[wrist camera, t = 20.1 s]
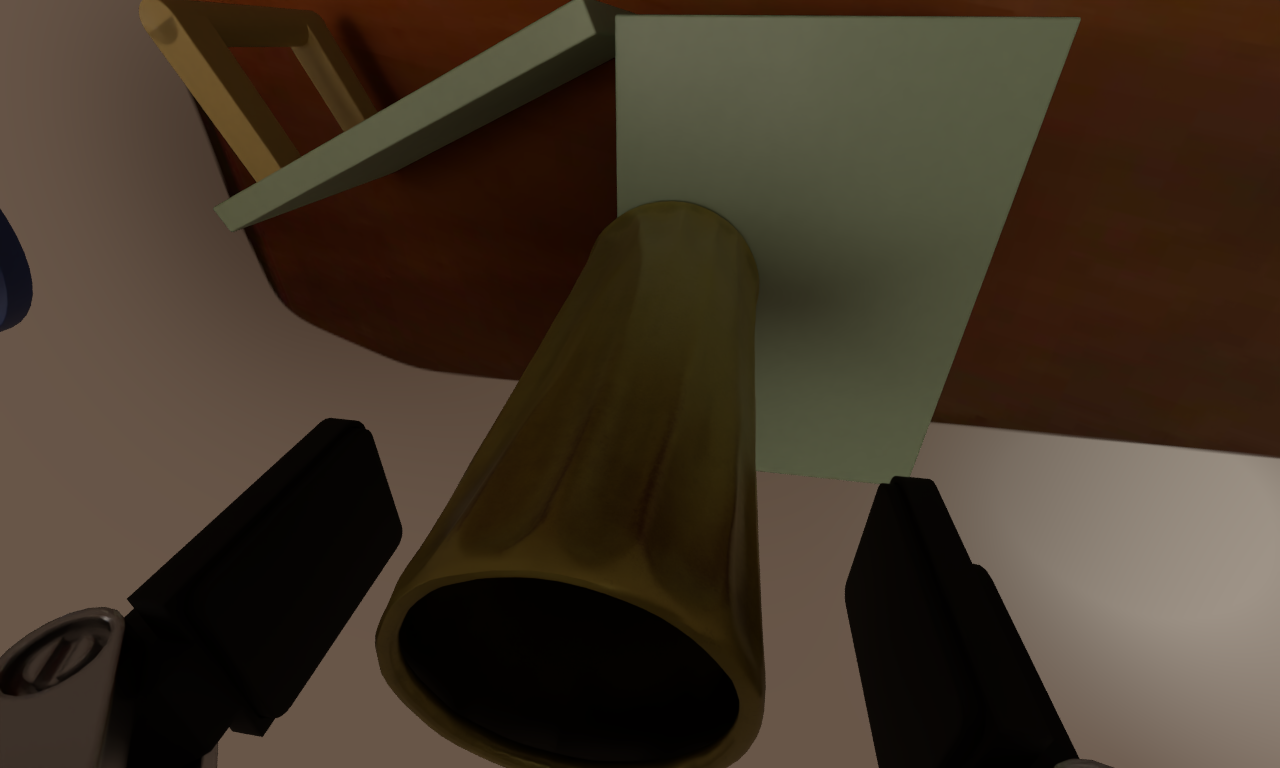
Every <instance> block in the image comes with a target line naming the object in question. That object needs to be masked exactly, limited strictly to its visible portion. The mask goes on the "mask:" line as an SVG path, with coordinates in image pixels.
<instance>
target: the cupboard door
mask: <svg viewBox="0 0 1280 768" xmlns="http://www.w3.org/2000/svg"><path fill="white" fill-rule="evenodd" d="M617 14H629V15H638V14H635V13H632V12H629V11H626V10H623V9H620V8H617V7H614V6H611V5H608V4H605V3H602V2H599V1H596V0H572V1H570V2H569V3H567V4H565V5H563V6H562V7H560V8H558V9H556V10H555V11H553V12H551V13H549V14H548V15H546V16H544V17H543V18H541V19H539V20H537V21H536V22H534V23H532V24H530V25H529V26H527V27H525V28H523V29H522V30H520V31H518V32H517V33H515V34H513V35H511V36H510V37H508V38H506V39H504V40H503V41H501V42H499V43H498V44H496V45H494V46H492V47H491V48H489V49H487V50H485V51H484V52H482V53H480V54H478V55H477V56H475V57H473V58H472V59H470V60H468V61H466V62H465V63H463V64H461V65H459V66H458V67H456V68H454V69H452V70H451V71H449V72H447V73H446V74H444V75H442V76H440V77H439V78H437V79H435V80H433V81H432V82H430V83H428V84H427V85H425V86H423V87H421V88H420V89H418V90H416V91H414V92H413V93H411V94H409V95H407V96H406V97H404V98H402V99H401V100H399V101H397V102H395V103H394V104H392V105H390V106H388V107H387V108H385V109H383V110H381V111H380V112H377V110H376V109H375V107H374V105H373V104H372V102H371V100H370V99H369V97H368V95H367V94H366V92H365V90H364V89H363V87H362V85H361V83H360V82H359V80H358V78H357V77H356V75H355V73H354V72H353V70H352V68H351V67H350V65H349V63H348V61H347V60H346V58H345V56H344V55H343V53H342V51H341V50H340V48H339V46H338V45H337V43H336V41H335V40H334V38H333V36H332V34H331V33H330V31H329V29H328V28H327V26H326V24H325V22H324V20H323V19H322V18H321V17H320V16H319V15H318V14H317V13H315V12H313V11H309V10H297V9H285V8H273V7H262V6H250V5H238V4H226V3H214V2H202V1H191V0H142V2H141V3H140V6H139V15H140V20H141V22H142V25H143V26H144V28H145V30H146V31H147V33H148V34H149V35H150V37H151V38H152V40H153V41H154V42H155V44H156V45H157V46H158V48H159V49H160V51H161V52H162V53H163V55H164V56H165V57H166V59H167V60H168V61H169V63H170V64H171V66H172V67H173V68H174V70H175V71H176V72H177V74H178V75H179V77H180V78H181V79H182V81H183V82H184V83H185V85H186V86H187V88H188V89H189V90H190V92H191V93H192V94H193V96H194V97H195V98H196V100H197V101H198V103H199V104H200V105H201V107H202V108H203V109H204V111H205V112H206V114H207V115H208V116H209V118H210V119H211V120H212V122H213V123H214V125H215V126H216V127H217V129H218V130H219V131H220V133H221V134H222V135H223V137H224V138H225V140H226V141H227V142H228V144H229V145H230V146H231V148H232V149H233V151H234V152H235V153H236V155H237V156H238V157H239V159H240V160H241V162H242V163H243V164H244V166H245V167H246V168H247V170H248V171H249V172H250V174H251V175H252V177H253V178H254V179H255V181H256V182H257V183H255V184H253V185H252V186H250V187H248V188H246V189H245V190H243V191H241V192H239V193H238V194H236V195H234V196H233V197H231V198H229V199H227V200H226V201H224V202H222V203H220V204H219V205H217V206H215V207H214V208H213V210H214V211H215V212H216V213H217V215H218V216H219V217H220V219H221V220H222V221H223V222H224V224H225V225H226V226H227V227H228V229H229V230H230V231H231V232H234V231H237V230H240V229H243V228H245V227H248V226H251V225H253V224H256V223H259V222H261V221H264V220H267V219H270V218H272V217H275V216H278V215H280V214H283V213H286V212H289V211H291V210H294V209H297V208H299V207H302V206H305V205H307V204H310V203H313V202H316V201H318V200H321V199H324V198H326V197H329V196H332V195H334V194H337V193H340V192H343V191H345V190H348V189H351V188H353V187H356V186H359V185H361V184H364V183H367V182H370V181H372V180H375V179H378V178H380V177H383V176H386V175H389V174H391V173H394V172H396V171H398V170H400V169H401V168H403V167H405V166H407V165H409V164H411V163H413V162H415V161H417V160H419V159H421V158H423V157H424V156H426V155H428V154H430V153H432V152H434V151H436V150H438V149H440V148H442V147H444V146H446V145H447V144H449V143H451V142H453V141H455V140H457V139H459V138H461V137H463V136H465V135H467V134H469V133H471V132H472V131H474V130H476V129H478V128H480V127H482V126H484V125H486V124H488V123H490V122H492V121H494V120H495V119H497V118H499V117H501V116H503V115H505V114H507V113H509V112H511V111H513V110H515V109H517V108H518V107H520V106H522V105H524V104H526V103H528V102H530V101H532V100H534V99H536V98H538V97H540V96H541V95H543V94H545V93H547V92H549V91H551V90H553V89H555V88H557V87H559V86H561V85H563V84H564V83H566V82H568V81H570V80H572V79H574V78H576V77H578V76H580V75H582V74H584V73H586V72H587V71H589V70H591V69H593V68H595V67H597V66H599V65H601V64H603V63H605V62H607V61H609V60H611V59H612V58H614V57H615V16H616V15H617ZM228 47H291V48H292V50H293V52H294V53H295V55H296V56H297V58H298V60H299V61H300V63H301V64H302V66H303V68H304V69H305V71H306V72H307V74H308V75H309V77H310V79H311V80H312V82H313V83H314V85H315V87H316V88H317V90H318V91H319V93H320V95H321V96H322V98H323V99H324V101H325V102H326V104H327V106H328V107H329V109H330V110H331V112H332V114H333V115H334V117H335V118H336V120H337V122H338V123H339V125H340V126H341V128H342V130H343V131H344V132H343V133H342V134H340V135H338V136H336V137H335V138H333V139H331V140H330V141H328V142H326V143H324V144H323V145H321V146H319V147H317V148H316V149H314V150H312V151H310V152H309V153H307V154H305V155H304V156H302V157H301V155H300V154H299V152H298V151H297V149H296V148H295V146H294V145H293V143H292V142H291V140H290V139H289V137H288V136H287V134H286V133H285V131H284V130H283V128H282V127H281V125H280V124H279V123H278V121H277V120H276V118H275V117H274V115H273V114H272V112H271V111H270V109H269V108H268V106H267V105H266V103H265V102H264V100H263V99H262V97H261V96H260V94H259V93H258V92H257V90H256V89H255V87H254V86H253V84H252V83H251V81H250V80H249V78H248V77H247V75H246V74H245V72H244V71H243V69H242V68H241V66H240V65H239V63H238V62H237V60H236V59H235V58H234V56H233V55H232V53H231V52H230V50H229V49H228Z"/></svg>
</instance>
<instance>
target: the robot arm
mask: <svg viewBox="0 0 1280 768" xmlns="http://www.w3.org/2000/svg"><path fill="white" fill-rule="evenodd" d="M401 538H402V525H401V522H400V519H399V516H398V513H397V510H396V507H395V504H394V500H393V497H392V494H391V491H390V488H389V485H388V482H387V479H386V476H385V473H384V470H383V466H382V464H381V460H380V457H379V454H378V451H377V448H376V445H375V442H374V439H373V436H372V434H371V432H370V431H369V430H366V429H365V427H364V425H363V424H362V423H361V422H359V421H355V420H345V419H336V418H328V419H325V420H323V421H322V422H320V423H319V424H318V425H317V426H316V427H315V428H314V429H313V430H312V431H310V432H309V433H308V434H307V435H306V436H305V437H304V438H303V439H302V440H300V441H299V443H297V444H296V445H295V446H294V447H293V448H292V449H291V450H290V451H289V452H287V453H286V454H285V455H284V456H283V457H282V458H281V459H280V460H279V461H278V462H276V463H275V464H274V465H273V466H272V467H271V468H270V469H269V470H268V471H267V472H265V473H264V474H263V475H262V476H261V477H260V478H259V479H258V480H257V481H256V482H254V484H252V485H251V486H250V487H249V488H248V489H247V490H246V491H245V492H243V493H242V494H241V495H240V496H239V497H238V498H237V499H236V500H235V501H234V502H233V503H231V504H230V505H229V506H228V507H227V508H226V509H225V510H224V511H223V512H222V513H220V514H219V515H218V516H217V517H216V518H215V519H214V520H213V521H212V522H211V523H209V524H208V525H207V526H206V527H205V528H204V529H203V530H202V531H201V532H200V533H199V534H197V536H195V537H194V538H193V539H192V540H191V541H190V542H189V543H188V544H186V546H185V547H183V548H182V549H181V550H180V551H179V552H178V553H177V554H176V555H174V556H173V557H172V558H171V559H170V560H169V561H168V562H167V563H166V564H165V565H163V566H162V567H161V568H160V569H159V570H158V571H157V572H156V573H155V574H154V575H152V576H151V577H150V578H149V579H148V580H147V581H146V582H145V583H144V584H143V585H142V586H140V587H139V588H138V589H137V590H136V591H135V592H134V593H133V594H132V595H131V596H129V597H128V598H127V600H128V601H129V602H130V604H131V605H132V606H133V607H134V609H133V610H132V611H131V612H130V613H129V614H128V615H127V616H125V617H123V616H122V615H121V614H120V613H119V612H118V611H117V610H115V609H111V608H107V607H98V608H87V609H84V610H80V611H76V612H73V613H69V614H67V615H64V616H62V617H60V618H57V619H55V620H53V621H50V622H48V623H46V624H45V625H43V626H41V627H40V628H38V629H37V630H34V631H33V632H31V633H29V634H28V635H26V636H25V637H24V638H22V639H21V640H20V641H18V642H17V643H16V644H15V645H13V646H12V647H11V648H9V649H8V650H7V651H6V652H5V653H4V654H3V655H2V656H1V657H0V768H217V756H218V741H219V740H220V738H221V737H222V736H223V735H224V733H225V732H226V730H227V729H228V728H229V727H230V729H231V730H232V731H233V732H239V733H244V734H250V735H255V736H261V737H263V736H264V734H265V733H266V731H267V730H268V728H269V727H270V725H271V724H272V722H273V721H274V719H275V718H278V717H280V716H282V715H283V714H284V713H286V712H287V711H288V709H289V708H290V707H291V705H292V704H293V702H294V701H295V699H296V698H297V696H298V695H299V693H300V692H301V690H302V689H303V688H304V686H305V685H306V683H307V681H308V680H309V679H310V677H311V676H312V674H313V673H314V671H315V670H316V668H317V667H318V665H319V664H320V662H321V661H322V659H323V658H324V656H325V655H326V653H327V651H328V650H329V648H330V647H331V646H332V644H333V643H334V641H335V640H336V638H337V637H338V635H339V634H340V632H341V630H342V629H343V628H344V626H345V625H346V623H347V622H348V620H349V619H350V617H351V616H352V614H353V613H354V611H355V610H356V608H357V607H358V605H359V604H360V602H361V601H362V599H363V597H364V596H365V595H366V593H367V592H368V590H369V589H370V587H371V586H372V584H373V583H374V581H375V580H376V578H377V577H378V575H379V574H380V572H381V571H382V569H383V568H384V566H385V565H386V563H387V562H388V560H389V559H390V557H391V556H392V555H393V553H394V552H395V550H396V549H397V547H398V545H399V543H400V541H401ZM845 603H846V609H847V613H848V618H849V623H850V628H851V633H852V638H853V643H854V648H855V653H856V658H857V662H858V668H859V673H860V677H861V682H862V687H863V692H864V697H865V701H866V707H867V712H868V717H869V722H870V727H871V732H872V736H873V742H874V746H875V751H876V756H877V761H878V765H879V768H1113V767H1110V766H1107V765H1105V764H1102V763H1099V762H1096V761H1093V760H1086V759H1079V757H1078V755H1077V753H1076V751H1075V749H1074V747H1073V745H1072V742H1071V741H1070V738H1069V736H1068V734H1067V732H1066V730H1065V728H1064V726H1063V724H1062V722H1061V720H1060V718H1059V716H1058V714H1057V712H1056V710H1055V708H1054V706H1053V703H1052V701H1051V699H1050V697H1049V695H1048V693H1047V691H1046V689H1045V687H1044V685H1043V683H1042V681H1041V679H1040V677H1039V675H1038V673H1037V671H1036V669H1035V667H1034V665H1033V662H1032V660H1031V658H1030V656H1029V654H1028V652H1027V650H1026V648H1025V646H1024V644H1023V642H1022V640H1021V638H1020V636H1019V634H1018V632H1017V630H1016V628H1015V626H1014V624H1013V622H1012V619H1011V617H1010V615H1009V613H1008V611H1007V609H1006V607H1005V605H1004V603H1003V601H1002V599H1001V597H1000V595H999V593H998V591H997V589H996V586H995V584H994V582H993V580H992V579H991V577H990V575H989V574H988V572H987V571H986V570H985V569H984V568H983V567H981V566H980V565H977V564H972V562H971V560H970V558H969V556H968V553H967V551H966V549H965V547H964V545H963V543H962V540H961V538H960V536H959V534H958V532H957V530H956V528H955V525H954V523H953V521H952V519H951V517H950V515H949V512H948V510H947V508H946V506H945V504H944V502H943V500H942V498H941V495H940V493H939V491H938V489H937V487H936V485H935V483H934V482H933V481H932V480H930V479H923V478H914V477H913V478H912V477H904V476H894V477H893V478H892V479H891V481H890V483H889V484H888V483H881V484H880V486H879V487H878V490H877V493H876V496H875V499H874V502H873V505H872V508H871V510H870V513H869V516H868V519H867V522H866V525H865V528H864V531H863V534H862V537H861V540H860V543H859V546H858V549H857V552H856V555H855V558H854V561H853V564H852V567H851V570H850V573H849V576H848V579H847V582H846V586H845Z"/></svg>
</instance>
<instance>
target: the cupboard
mask: <svg viewBox="0 0 1280 768" xmlns="http://www.w3.org/2000/svg"><path fill="white" fill-rule="evenodd" d="M1080 19H1081V18H1079V17H973V16H801V15H629V14H617V15H616V16H615V67H616V151H617V218H618V217H619V216H621V215H622V214H624V213H625V212H627V211H629V210H631V209H633V208H636V207H638V206H641V205H644V204H648V203H653V202H661V201H679V202H687V203H691V204H695V205H698V206H701V207H704V208H706V209H708V210H710V211H712V212H714V213H716V214H717V215H719V216H721V217H722V218H724V219H725V220H726V221H728V222H729V223H730V224H731V225H732V226H733V227H734V228H735V229H736V230H737V231H738V232H739V233H740V234H741V236H742V237H743V238H744V240H745V241H746V243H747V245H748V246H749V248H750V250H751V252H752V254H753V257H754V260H755V262H756V266H757V269H758V275H759V295H758V300H757V305H756V321H755V397H756V471H762V472H771V473H780V474H791V475H800V476H809V477H818V478H828V479H837V480H846V481H856V482H866V483H875V484H881V483H888V484H889V483H890V481H891V479H892V478H893V477H894V476H904V477H910V475H911V472H912V469H913V467H914V464H915V461H916V459H917V456H918V453H919V450H920V448H921V445H922V442H923V440H924V437H925V434H926V432H927V429H928V426H929V424H930V421H931V418H932V416H933V413H934V410H935V408H936V405H937V402H938V400H939V397H940V394H941V392H942V389H943V386H944V384H945V381H946V378H947V376H948V373H949V370H950V368H951V365H952V362H953V360H954V357H955V354H956V352H957V349H958V346H959V344H960V341H961V338H962V336H963V333H964V330H965V328H966V325H967V322H968V319H969V317H970V314H971V311H972V309H973V306H974V303H975V301H976V298H977V295H978V293H979V290H980V287H981V285H982V282H983V279H984V277H985V274H986V271H987V269H988V266H989V263H990V261H991V258H992V255H993V253H994V250H995V247H996V245H997V242H998V239H999V237H1000V234H1001V231H1002V229H1003V226H1004V223H1005V221H1006V218H1007V215H1008V213H1009V210H1010V207H1011V205H1012V202H1013V199H1014V197H1015V194H1016V191H1017V188H1018V186H1019V183H1020V180H1021V178H1022V175H1023V172H1024V170H1025V167H1026V164H1027V162H1028V159H1029V156H1030V154H1031V151H1032V148H1033V146H1034V143H1035V140H1036V138H1037V135H1038V132H1039V130H1040V127H1041V124H1042V122H1043V119H1044V116H1045V114H1046V111H1047V108H1048V106H1049V103H1050V100H1051V98H1052V95H1053V92H1054V90H1055V87H1056V84H1057V82H1058V79H1059V76H1060V74H1061V71H1062V68H1063V66H1064V63H1065V60H1066V58H1067V55H1068V52H1069V49H1070V47H1071V44H1072V41H1073V39H1074V36H1075V33H1076V31H1077V28H1078V25H1079V23H1080Z"/></svg>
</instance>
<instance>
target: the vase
mask: <svg viewBox="0 0 1280 768" xmlns="http://www.w3.org/2000/svg"><path fill="white" fill-rule="evenodd" d="M758 295H759V275H758V269H757V266H756V262H755V260H754V257H753V254H752V252H751V250H750V248H749V246H748V245H747V243H746V241H745V240H744V238H743V237H742V236H741V234H740V233H739V232H738V231H737V230H736V229H735V228H734V227H733V226H732V225H731V224H730V223H729V222H728V221H726V220H725V219H724V218H722V217H721V216H719V215H717V214H716V213H714V212H712V211H710V210H708V209H706V208H704V207H701V206H698V205H695V204H691V203H687V202H679V201H661V202H653V203H648V204H644V205H641V206H638V207H636V208H633V209H631V210H629V211H627V212H625V213H624V214H622V215H621V216H619V217H618V218H616V219H615V220H614V221H613V222H612V223H610V224H609V225H608V226H607V227H606V228H605V229H604V230H603V231H602V232H601V234H600V235H599V236H598V238H597V240H596V242H595V244H594V246H593V248H592V251H591V253H590V255H589V258H588V261H587V263H586V265H585V267H584V269H583V270H582V272H581V274H580V276H579V278H578V280H577V281H576V283H575V285H574V287H573V289H572V291H571V293H570V295H569V296H568V298H567V300H566V301H565V303H564V305H563V306H562V308H561V309H560V311H559V313H558V315H557V316H556V318H555V320H554V321H553V323H552V325H551V327H550V328H549V330H548V332H547V334H546V336H545V337H544V339H543V341H542V343H541V344H540V346H539V348H538V350H537V351H536V353H535V355H534V356H533V358H532V359H531V361H530V363H529V364H528V366H527V368H526V369H525V371H524V373H523V375H522V376H521V378H520V380H519V382H518V384H517V385H516V387H515V389H514V390H513V392H512V394H511V395H510V397H509V399H508V401H507V402H506V404H505V406H504V407H503V409H502V411H501V412H500V414H499V416H498V417H497V419H496V421H495V423H494V424H493V426H492V428H491V430H490V431H489V433H488V434H487V436H486V438H485V439H484V441H483V443H482V444H481V446H480V448H479V449H478V451H477V453H476V454H475V456H474V458H473V459H472V461H471V463H470V465H469V466H468V468H467V470H466V472H465V473H464V475H463V477H462V479H461V481H460V482H459V484H458V486H457V488H456V490H455V491H454V493H453V495H452V497H451V499H450V501H449V502H448V504H447V506H446V507H445V509H444V511H443V512H442V514H441V515H440V517H439V519H438V520H437V522H436V523H435V525H434V527H433V528H432V530H431V532H430V533H429V535H428V536H427V538H426V539H425V541H424V543H423V544H422V546H421V547H420V549H419V550H418V551H417V553H416V554H415V556H414V557H413V558H412V560H411V561H410V563H409V564H408V565H407V567H406V569H405V570H404V572H403V573H402V575H401V576H400V578H399V580H398V582H397V584H396V586H395V589H394V591H393V594H392V596H391V598H390V601H389V603H388V605H387V607H386V609H385V611H384V613H383V615H382V617H381V620H380V623H379V625H378V628H377V631H376V635H375V647H376V652H377V657H378V661H379V666H380V670H381V673H382V675H383V677H384V678H385V680H386V682H387V684H388V685H389V686H390V688H391V689H392V690H393V692H394V693H395V694H396V695H397V696H398V698H399V699H400V700H401V701H402V702H403V703H404V704H405V705H406V706H407V707H408V708H409V709H410V710H411V711H412V712H414V713H415V714H416V715H417V716H418V717H419V718H420V719H421V720H422V721H423V722H425V723H426V724H427V725H428V726H429V727H430V728H432V729H433V730H434V731H436V732H437V733H438V734H440V735H441V736H442V737H444V738H446V739H447V740H449V741H451V742H452V743H454V744H456V745H457V746H459V747H461V748H463V749H465V750H468V751H470V752H471V753H474V754H475V755H478V756H480V757H482V758H485V759H486V760H489V761H491V762H493V763H496V764H498V765H501V766H503V767H506V768H727V767H728V766H730V765H731V764H733V763H734V762H736V761H738V760H739V759H740V758H741V757H742V756H743V755H744V754H745V753H746V752H747V751H748V749H749V748H750V746H751V745H752V743H753V742H754V740H755V739H756V737H757V735H758V733H759V730H760V727H761V724H762V719H763V713H764V703H765V688H766V685H765V662H764V647H763V631H762V612H761V590H760V565H759V543H758V510H757V481H756V397H755V321H756V305H757V300H758Z"/></svg>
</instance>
